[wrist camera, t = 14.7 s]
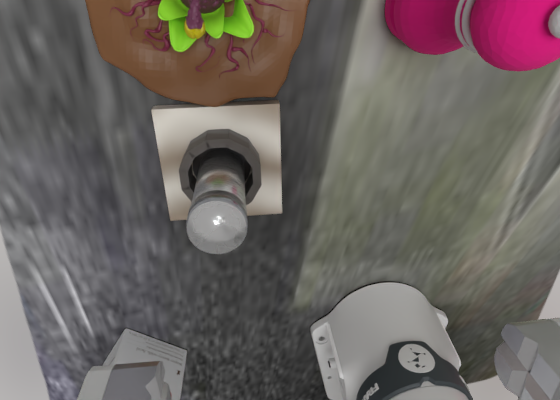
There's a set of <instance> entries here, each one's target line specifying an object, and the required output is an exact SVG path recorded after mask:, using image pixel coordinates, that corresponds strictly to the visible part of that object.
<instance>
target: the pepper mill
mask: <svg viewBox="0 0 560 400" xmlns="http://www.w3.org/2000/svg"><path fill="white" fill-rule="evenodd" d="M385 19H386V23H387V25H388V28H389V29H390V31H391V32H392V33H393V34H394V35H395V36H396V37H397V38H398V39H400V40H402V41H403V42H404V43H405V44H406V45H407V46H408V47H409V48H411V49H412V50H414V51H416V52H419V53H423V54H433V55H438V54H444V53H448V52H451V51H454V50H457V49H459V48H461V47H463V46H464V47H466V48H467V49H468V50H470V51H472V52H474V53H478V54H479V55H480V56H481V57H482V58H483V59H484V60H485V61H486V62H488V63H489V64H491V65H493V66H495V67H497V68H500V69H502V70H509V71H527V70H532V69H537V68H540V67H542V66H545V65H547V64H549V63H551V62H553V61H555V60H557V59H558V58H560V0H386V3H385Z"/></svg>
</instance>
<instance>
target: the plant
mask: <svg viewBox="0 0 560 400" xmlns="http://www.w3.org/2000/svg"><path fill="white" fill-rule="evenodd" d="M85 2H86V6H87V10H88V14H89V19H90V24H91V28H92V32H93V35H94V38H95V41H96V44H97V47H98V50H99V53H100V55H101V57H102V58H103V59H104V60H105V61H107V62H109V63H111V64H112V65H114V66H116V67H118V68H120V69H121V70H123V71H125V72H127V73H128V74H130V75H131V76H133V77H134V78H136V79H137V80H138V81H140V82H141V83H142V84H143V85H144V86H145V87H146V88H148V89H150V90H151V91H153V92H155V93H158V94H160V95H162V96H164V97H167V98H170V99H173V100H178V101H185V102H190V103H194V104H199V105H204V106H210V107H218V106H221V105H223V104H225V103H227V102H229V101H232V100H234V99H238V98H251V97H275V96H276V95H277V93H278V91H279V89H280V88H281V86H282V85H283V83H284V82H285V80H286V78H287V75H288V71H289V66H290V63H291V60H292V57H293V55H294V53H295V51H296V49H297V48H298V46H299V44H300V42H301V39H302V35H303V30H304V24H305V19H306V13H307V7H308V4H309V2H310V0H85Z"/></svg>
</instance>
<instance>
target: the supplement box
mask: <svg viewBox="0 0 560 400" xmlns="http://www.w3.org/2000/svg"><path fill="white" fill-rule="evenodd" d="M186 356H187V350H184V349H182V348H179V347H176V346H174V345H171V344H168V343H165V342H163V341H160V340H157V339H155V338H152V337H149V336H146V335H144V334H141V333H138V332H136V331H133V330H130V329H127V328H126V329H125V330H124V331H123V333H122V334H121V336H120V338H119V339H118V341H117V342H116V344H115V346H114V347H113V349H112V350H111V352H110V354H109V355H108V357H107V359H106V360H105V362H104V363H103V365H102V366H104V365H115V364H126V363H138V362H151V361H162V362H163V365H164V369H165V376H164V382H166V383H167V384H169V388H170V394H171V400H180V397H181V390H182V384H183V377H184V370H185V363H186Z"/></svg>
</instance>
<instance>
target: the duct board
mask: <svg viewBox="0 0 560 400" xmlns="http://www.w3.org/2000/svg"><path fill="white" fill-rule="evenodd" d="M151 111H152V117H153V123H154V128H155V134H156V140H157V146H158V151H159V157H160V163H161V169H162V175H163V180H164V186H165V192H166V198H167V204H168V209H169V215H170V221H174V220H187V216H188V212H189V208H190V206H191V204H192V200H193V195H194V190H195V185H196V181H197V176H198V171H199V167H200V162H201V159H202V157H203V155H204V154H205V153H206V152H207V151H208V150H210V149H212V148H225V147H227V148H229V149H231V150H233V151H236V152H237V153H239V155H240V156H241V157H242V159H243V162H244V175H245V200H246V210H247V216H250V215H265V214H280V213H282V183H281V139H280V103H279V101H278V100H265V101H243V102H227V103H225V104H223V105H221V106H218V107H210V106H204V105H199V104H178V105H156V106H154V107H153V108H152V109H151Z"/></svg>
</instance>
